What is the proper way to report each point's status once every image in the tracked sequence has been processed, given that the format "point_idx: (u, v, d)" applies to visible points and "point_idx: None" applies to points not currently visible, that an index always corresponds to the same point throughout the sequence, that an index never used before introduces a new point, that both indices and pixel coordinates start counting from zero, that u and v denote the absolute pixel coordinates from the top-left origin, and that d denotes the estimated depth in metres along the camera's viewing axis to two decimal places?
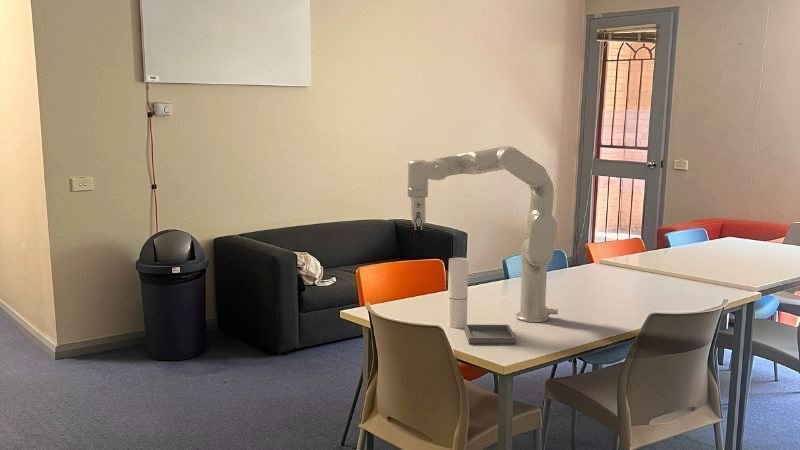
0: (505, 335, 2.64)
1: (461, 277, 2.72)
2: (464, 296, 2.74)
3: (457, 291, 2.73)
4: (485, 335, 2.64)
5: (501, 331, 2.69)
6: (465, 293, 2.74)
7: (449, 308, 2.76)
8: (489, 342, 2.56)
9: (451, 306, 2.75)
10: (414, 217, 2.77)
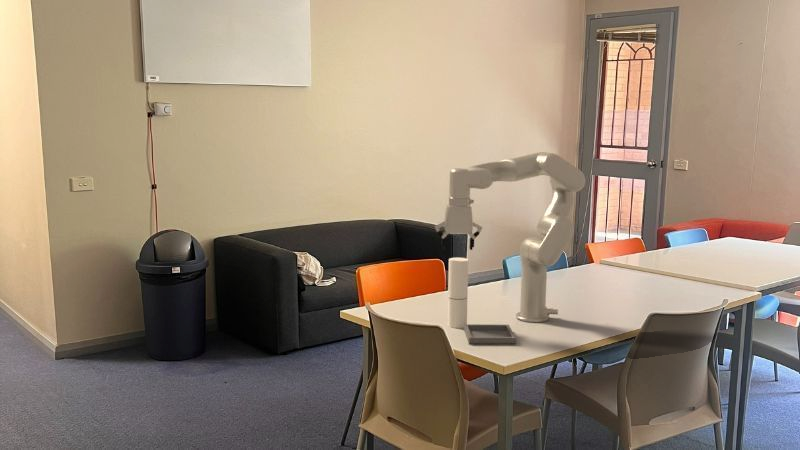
0: (505, 335, 2.64)
1: (461, 277, 2.72)
2: (464, 296, 2.74)
3: (457, 291, 2.73)
4: (485, 335, 2.64)
5: (501, 331, 2.69)
6: (465, 293, 2.74)
7: (449, 308, 2.76)
8: (489, 342, 2.56)
9: (451, 306, 2.75)
10: None
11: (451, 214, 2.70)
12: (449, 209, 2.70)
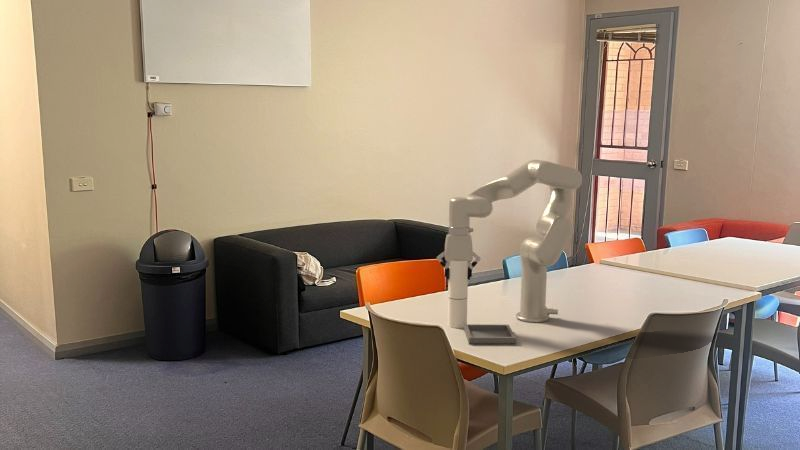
0: (505, 335, 2.64)
1: (461, 277, 2.72)
2: (464, 296, 2.74)
3: (457, 291, 2.73)
4: (485, 335, 2.64)
5: (501, 331, 2.69)
6: (465, 293, 2.74)
7: (449, 308, 2.76)
8: (489, 342, 2.56)
9: (451, 306, 2.75)
10: (472, 255, 2.73)
11: (451, 243, 2.71)
12: (449, 238, 2.71)
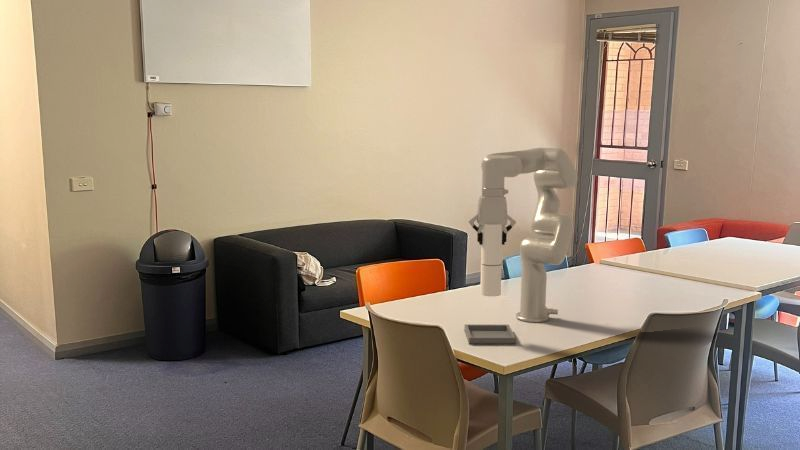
0: (505, 335, 2.64)
1: (495, 241, 2.55)
2: (498, 262, 2.57)
3: (490, 256, 2.56)
4: (485, 335, 2.64)
5: (501, 331, 2.69)
6: (499, 259, 2.57)
7: (482, 275, 2.59)
8: (489, 342, 2.56)
9: (484, 273, 2.58)
10: (507, 218, 2.56)
11: (485, 205, 2.54)
12: (482, 200, 2.54)
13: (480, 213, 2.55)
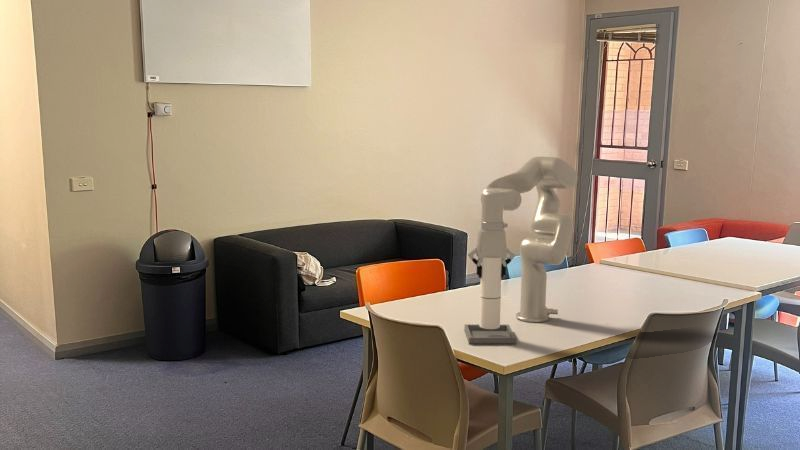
0: (505, 335, 2.64)
1: (494, 275, 2.57)
2: (497, 295, 2.58)
3: (490, 290, 2.57)
4: (485, 335, 2.64)
5: (501, 331, 2.69)
6: (498, 292, 2.59)
7: (481, 308, 2.60)
8: (489, 342, 2.56)
9: (483, 306, 2.59)
10: (506, 251, 2.58)
11: (484, 238, 2.56)
12: (482, 234, 2.56)
13: (479, 247, 2.57)
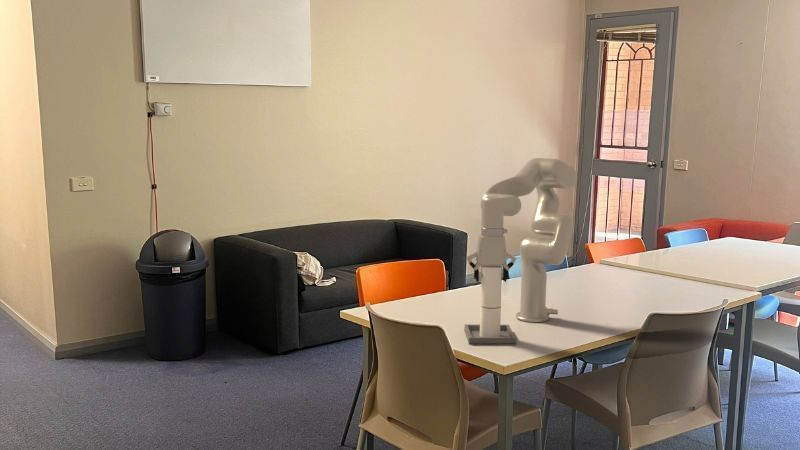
0: (505, 335, 2.64)
1: (494, 284, 2.58)
2: (498, 305, 2.59)
3: (490, 299, 2.58)
4: None
5: (501, 331, 2.69)
6: (499, 302, 2.60)
7: (481, 317, 2.61)
8: (489, 342, 2.56)
9: (484, 315, 2.60)
10: (506, 257, 2.58)
11: (484, 244, 2.56)
12: (482, 239, 2.56)
13: (479, 252, 2.57)
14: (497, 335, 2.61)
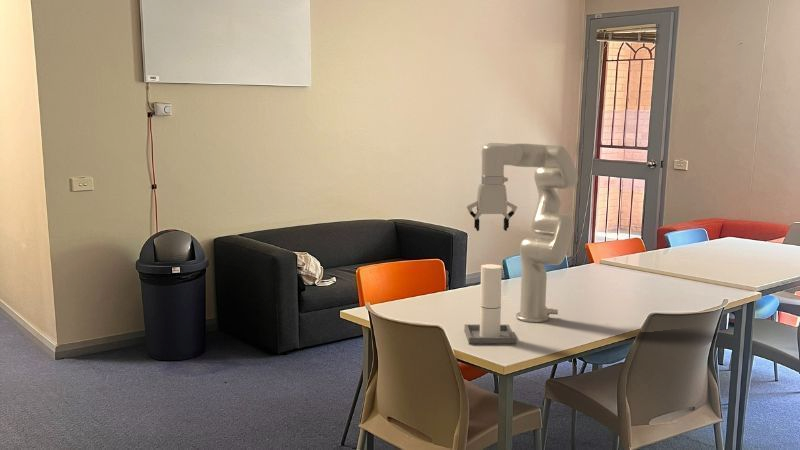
0: (505, 335, 2.64)
1: (494, 285, 2.57)
2: (497, 305, 2.59)
3: (490, 299, 2.58)
4: None
5: (501, 331, 2.69)
6: (498, 302, 2.59)
7: (481, 318, 2.61)
8: (489, 342, 2.56)
9: (484, 315, 2.60)
10: (506, 206, 2.57)
11: (484, 193, 2.55)
12: (482, 188, 2.55)
13: (480, 201, 2.56)
14: (497, 335, 2.61)
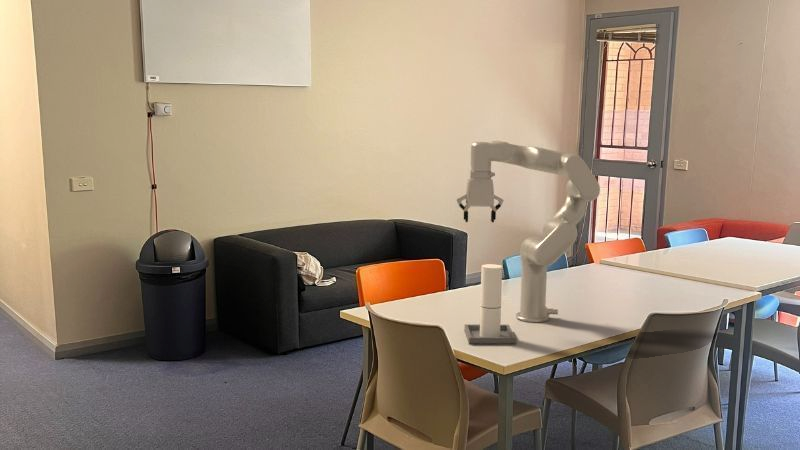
0: (505, 335, 2.64)
1: (495, 284, 2.57)
2: (498, 305, 2.59)
3: (490, 299, 2.58)
4: None
5: (501, 331, 2.69)
6: (499, 302, 2.59)
7: (482, 317, 2.61)
8: (489, 342, 2.56)
9: (484, 315, 2.60)
10: (493, 199, 2.75)
11: (473, 186, 2.73)
12: (471, 182, 2.73)
13: (468, 194, 2.74)
14: (497, 335, 2.61)
